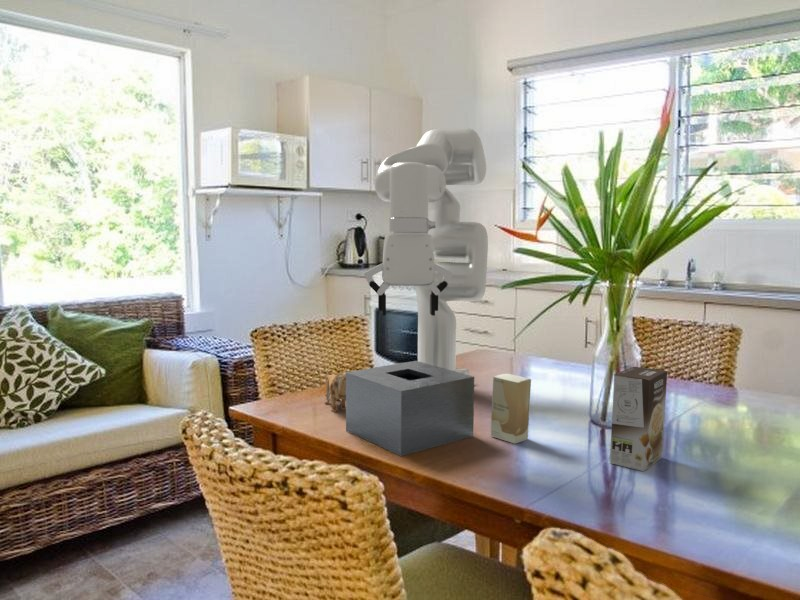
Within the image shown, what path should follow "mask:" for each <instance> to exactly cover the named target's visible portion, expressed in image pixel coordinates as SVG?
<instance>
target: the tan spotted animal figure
mask: <svg viewBox="0 0 800 600" xmlns="http://www.w3.org/2000/svg"><path fill="white" fill-rule="evenodd" d="M346 372H347V371H346ZM346 372H341V373H338V374H334V373H332V374H330V375H329V376H328V378H327V380H326V384H325V385H326V387H325V389H326V394H325V397H326V398H325V401H324V405H329V404H330V400H331V409H330V411H331V412H333V413H335V412H337V409H338V408H337V403H336V402H337V401H340V400H341V402H340V403H341V404H340V408H341V410H342V411H346Z"/></svg>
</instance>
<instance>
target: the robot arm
mask: <svg viewBox="0 0 800 600" xmlns="http://www.w3.org/2000/svg"><path fill="white" fill-rule="evenodd" d="M483 147H484V146H483V143H482V140H481V138H480V136H479V134H478V133H477V132H476V131H475V130H474V129H473V128H469V127H463V128H462V127H458V128H457V127H453V128H434V129H431V130H428V131H426V132H425V133H424V134H423V135H422V137H421V138H420V140H419V141H418V142H417V144H416V146H413V147H410V148H407V149H405V150H402V151H400V152H396V153H393V154H391V155H389V156H387V157H386V158H385V159H384V160H383V161H382V162H381V164H380V166H379V167H378V169H377V171H376V174H375V179H374V189H375V194H376V195H377V197H378V199H380V200H382V201H383V202H385V203H389V218H388V219H389V234H385V236H384V239H383V240H384V242H383V247H382V263H380V264H378V265H376V266H374V267H372V268H370V269H368V270H366V271H364V273H363V276H364V278H365V279H366V281H367V283H368V285H369V287H370V288H371V289H372V290H373V291H374V292H375V293H376V294H377V295H378V297H377V298H378V302H377V303H378V310H377V311H378V312H381V316H382V317H385V316H386V315H387V295H386V293H385V292H386V291H387V290H388V289H389V288H390V286H392V287H394V286H395V287H397V286H401V287H403V286H404V287H409V286H410V287H414V286H415V288H414V289H415V291H416V293H415V294H416V300H417V361H419V362H422V363H426V364H430V365H433V366H437V367H441V368H444V369H448V370H452V371H455V372H459V373H463V374H466V375H470V371H469V369H468V368H461V369H460V368H457V367H456V363H457V362H456V360H457V359H456V357H457V356H456V355H457V353H456V352H457V350H456V349H457V319H456V315H455V312H454V311H453V310H452V309H451V307H450V305H449V304H448V303H447V302H478V301H481V300H482V299H483V297H484V295H485V292H486V286H487V269H488V252H489V251H488V250H489V237H488V231H487V229H486V227H485V226H484V225H483V223H480V222H476V221H460V220H461V219H460V218H461V217H460V216H461V204H460V202H459V201H458V200H457V198H456V197H455V195H454V194H453V193H452V192H451V191H450V189H448V188H447V186H475V185H478V184H481V183H483V181H484V179H485V177H486V174H487V161H486V155H485V152H484V148H483ZM435 260H445V261H435ZM446 260H453V261H455V260H456V261H467V262H453V261H446ZM378 273H381V276H382V280H383V281H382V283H381V284H380V285H378V283H376V281H375V280H374V275H376V274H378Z"/></svg>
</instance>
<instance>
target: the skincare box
mask: <svg viewBox="0 0 800 600" xmlns="http://www.w3.org/2000/svg"><path fill="white" fill-rule="evenodd" d="M492 379H493V380H492V398H491V399H492V400H491V418H490V419H491V420H490V436H491V437H493V438H497V439H499V440H502V441H505V442H509V443H512V444H515V445H516V444H518V443H521V442H523V441H527V440H528V439H529V438H528V437H529V425H530V424H529V420H530V403H531V386H532V379H531V378H528V377H523V376H520V375H515V374H512V373H511V374H510V373H501V374H497V375H494V376H493V377H492Z"/></svg>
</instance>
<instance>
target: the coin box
mask: <svg viewBox="0 0 800 600" xmlns="http://www.w3.org/2000/svg"><path fill="white" fill-rule="evenodd" d="M345 407H346V410H345V431H346V432H349V433H350V434H353V435H355V436H356V437H360V438H362V439H364V440H365V441H367V442H369V443H372V444H374V445H376V446H378V447H381V448H382V449H384V450H387V451H389V452H391V453H393V454H396V455H398V456H400V457H402V456H406V455H410V454H414V453H417V452H422V451H425V450H428V449H432V448H436V447H440V446H442V445H447V444H451V443H454V442H455V443H456V442H458V441H461V440H462V441H463V440H465V439H468V438H473V437H474V426H475V425H474V419H475V418H474V417H475V414H474V413H475V410H474V409H475V376H473V375H470V374H469V375H466V374H463V373H459V372H455V371H452V370H448V369H444V368H441V367H437V366H433V365H430V364H426V363H422V362H419V361H418V360H413V361H407V362H400V363H393V364H389V365H388V364H387V365H381V366H377V367H370V368H364V369H359V370H358V369H357V370H352V371H346V402H345Z"/></svg>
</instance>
